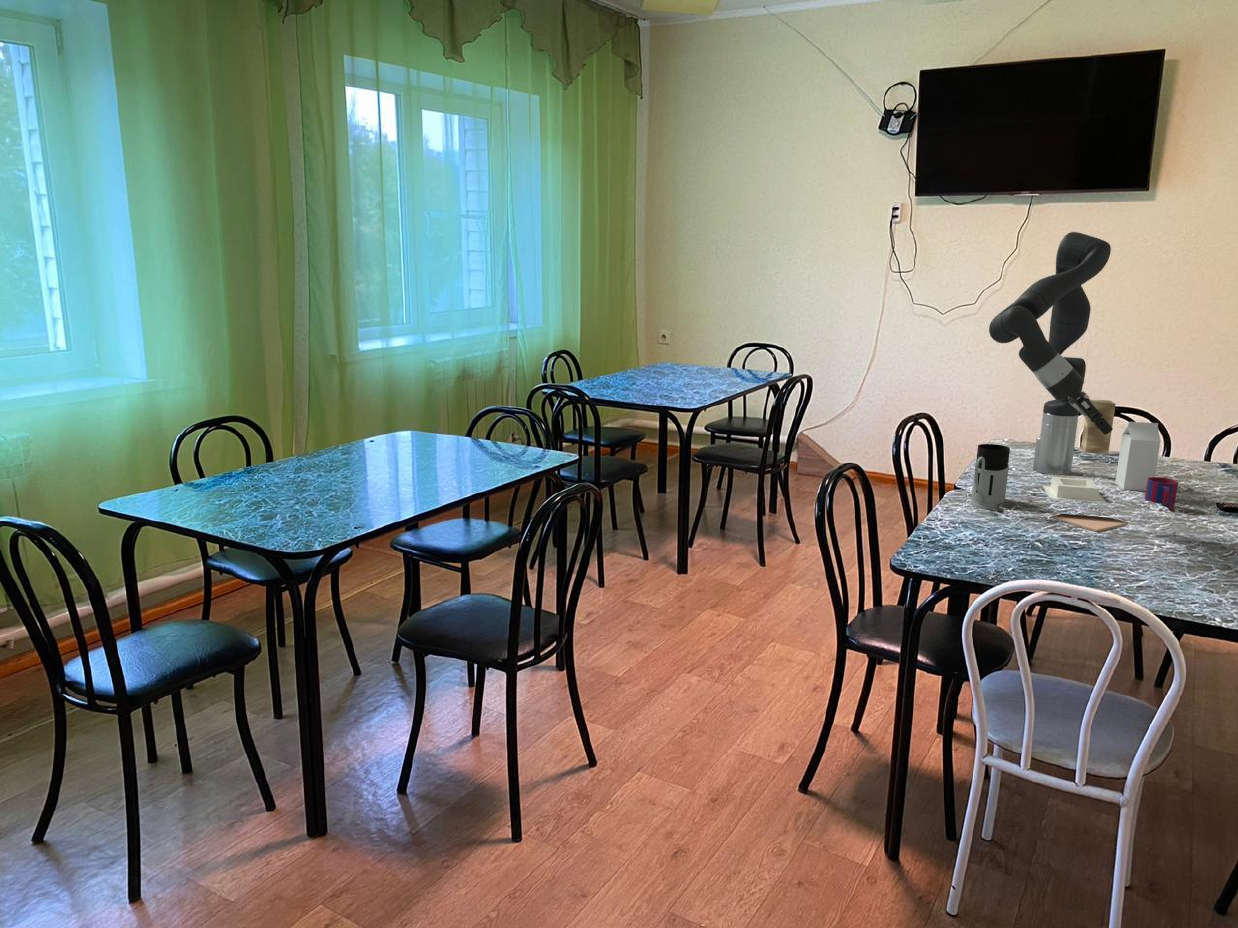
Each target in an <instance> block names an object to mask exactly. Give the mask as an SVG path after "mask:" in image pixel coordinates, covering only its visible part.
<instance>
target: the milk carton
mask: <svg viewBox="0 0 1238 928" xmlns="http://www.w3.org/2000/svg"><path fill="white" fill-rule="evenodd" d="M1160 445H1161V437H1160V432H1159V423H1158V422H1143V421H1142V422H1141V421H1140V422H1138V421H1128V423H1127V426H1126V428H1125V429H1124V431H1123V433H1122V435H1121V441H1120V448H1119V449H1120V450H1119V455H1118V463H1117V470H1116V475H1115V476H1116V477H1115V482H1114V483H1115V484H1116V485H1117V486H1118V487H1120V488H1121V489H1122V490H1127V491H1128V490H1129V491H1140V492H1146V487H1147V481H1148V478H1149V477H1156V472H1157V465H1158V458H1159V453H1160V447H1161V446H1160Z"/></svg>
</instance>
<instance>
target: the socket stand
mask: <svg viewBox="0 0 1238 928" xmlns="http://www.w3.org/2000/svg"><path fill="white" fill-rule="evenodd" d="M1042 487H1043V489H1044V490H1045V492H1046V493H1047V495H1048V497H1049V498H1050V499H1052V500H1053V499H1054V500H1065V501H1078V502H1079V501H1080V502H1089V503H1102V504H1103V503H1104V504H1107V501H1106V500H1105V498H1104V497H1103V496H1102V495H1101V494H1100V488H1099V487H1098V486H1097V484H1096V482H1095V481H1093V479H1089V478H1076V477H1075V478H1074V477H1062V476H1060V477H1059V476H1051V481H1050V485H1043V484H1042Z"/></svg>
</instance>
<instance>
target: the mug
mask: <svg viewBox="0 0 1238 928" xmlns="http://www.w3.org/2000/svg"><path fill="white" fill-rule="evenodd" d="M1178 487H1179V481H1178V480H1176V479H1172V478H1169V477H1162V476H1155V477H1149V478H1148V481H1147V487H1146V491H1145V495H1144V500H1145V501H1147V502H1150V503H1155V504H1158V505H1161V506H1162V507H1165V508H1167V509H1168V510H1173V509H1174V508H1175V505H1176V501H1177V499H1176V498H1177V494H1178V492H1177V491H1178Z"/></svg>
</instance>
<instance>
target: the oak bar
mask: <svg viewBox="0 0 1238 928" xmlns="http://www.w3.org/2000/svg"><path fill="white" fill-rule="evenodd" d="M1090 400H1091V401H1092V402H1093V403H1094V404H1095V405H1096V406H1097V410H1098V411H1099V412H1100V413H1101V414H1102V415H1103V418H1104V419H1105V420H1106V422H1107V423H1108V424H1109V425H1110V426H1111V427H1112V428H1113V424H1114V416H1115V413H1116V411H1115V410H1116V403H1115V402H1113V401H1112V400H1107V399H1106V400H1105V399H1092V398H1091V399H1090ZM1096 414H1097V413H1096V412H1095V411H1094V412H1093V413H1092V414H1091V415H1090V416H1091V417H1094V416H1095V415H1096ZM1112 431H1113V430H1112ZM1112 431H1111V432H1109V433H1108V434H1106V435H1105V434H1103V432H1102V431H1101V430H1100V429H1099V428H1098V427H1097V426H1096V425H1095V424H1094V423H1092V422H1091V420H1090V419H1089V418H1088V417H1084V422H1083V431H1082V437H1081V443H1080V444H1081V445H1080V449H1081V451H1083V452H1084V453H1086V454H1098V455H1099V454H1100V455H1109V451H1110V445H1111V444H1110V443H1111V439H1112Z"/></svg>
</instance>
